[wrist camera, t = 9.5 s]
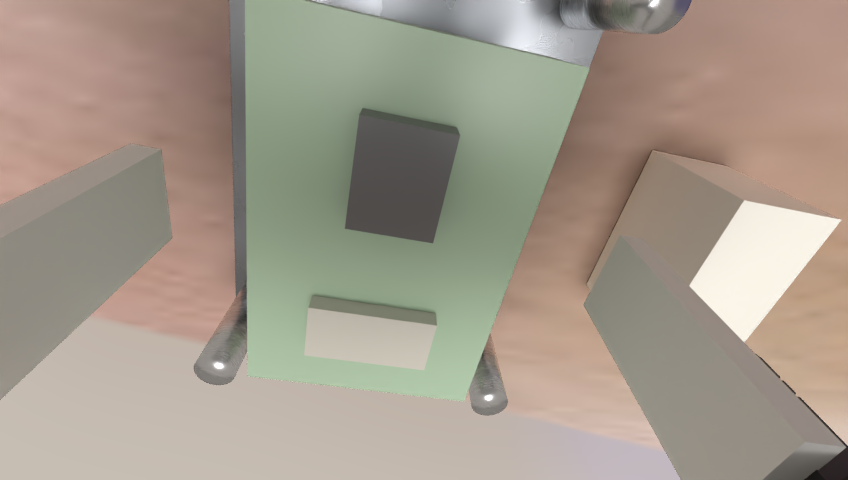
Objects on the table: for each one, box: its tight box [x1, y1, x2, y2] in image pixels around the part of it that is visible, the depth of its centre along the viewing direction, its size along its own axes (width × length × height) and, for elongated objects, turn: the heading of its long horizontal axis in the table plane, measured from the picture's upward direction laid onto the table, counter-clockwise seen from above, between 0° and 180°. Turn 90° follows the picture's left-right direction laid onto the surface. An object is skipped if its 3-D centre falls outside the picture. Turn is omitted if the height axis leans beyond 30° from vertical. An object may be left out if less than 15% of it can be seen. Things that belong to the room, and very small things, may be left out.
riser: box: [586, 150, 841, 342], centre depth 19 cm, size 8×4×6 cm, turn 168°
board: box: [245, 0, 590, 401], centre depth 13 cm, size 12×8×4 cm, turn 168°
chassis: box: [194, 0, 691, 415], centre depth 16 cm, size 18×14×7 cm
